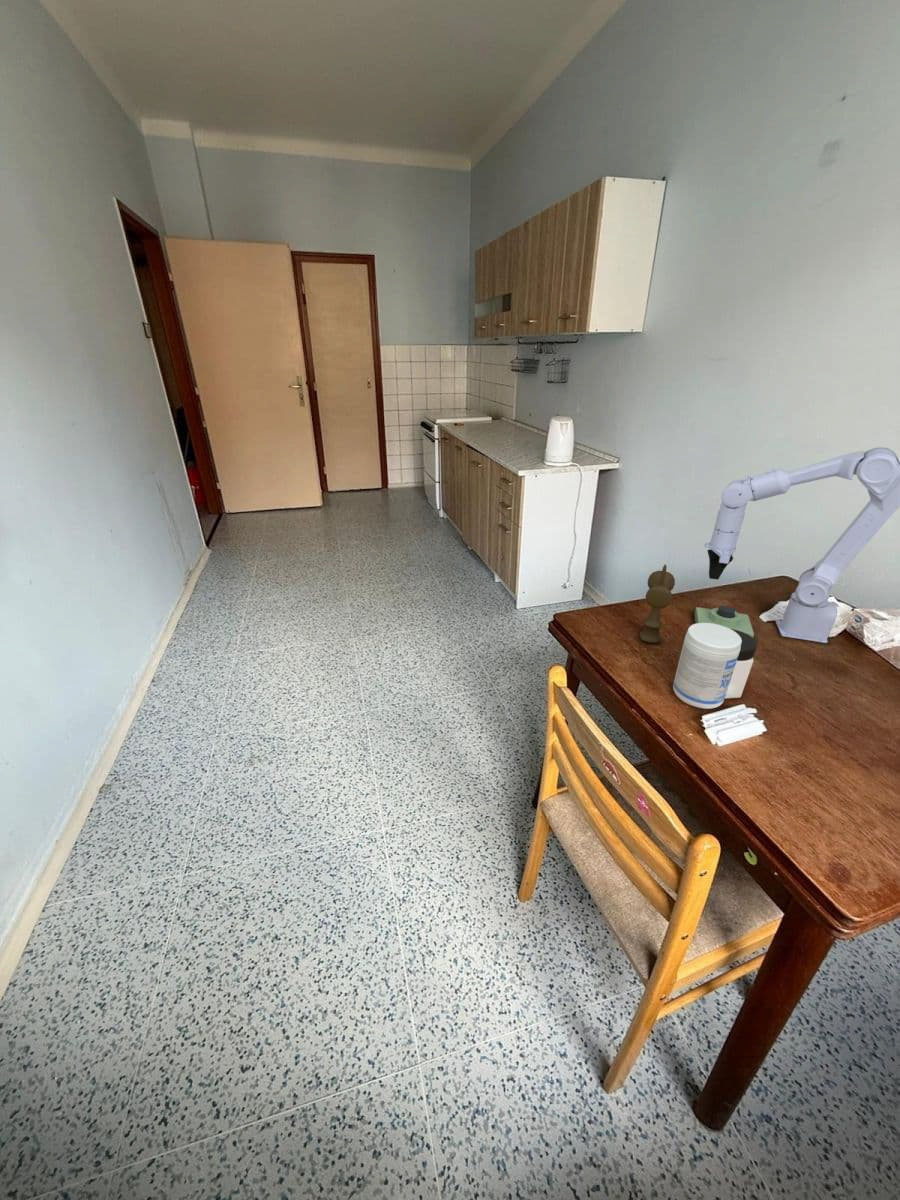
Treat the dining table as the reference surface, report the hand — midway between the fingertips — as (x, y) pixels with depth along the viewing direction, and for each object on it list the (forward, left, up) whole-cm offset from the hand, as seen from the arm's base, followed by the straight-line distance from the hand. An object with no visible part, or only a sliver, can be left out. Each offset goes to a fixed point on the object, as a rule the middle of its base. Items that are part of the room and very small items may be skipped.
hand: (713, 578), depth 124 cm
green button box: (-3, +10, -9) cm, 14 cm away
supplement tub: (+4, +41, -9) cm, 42 cm away
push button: (-3, +10, -5) cm, 12 cm away
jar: (0, +36, -9) cm, 37 cm away
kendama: (+14, +22, -9) cm, 28 cm away
